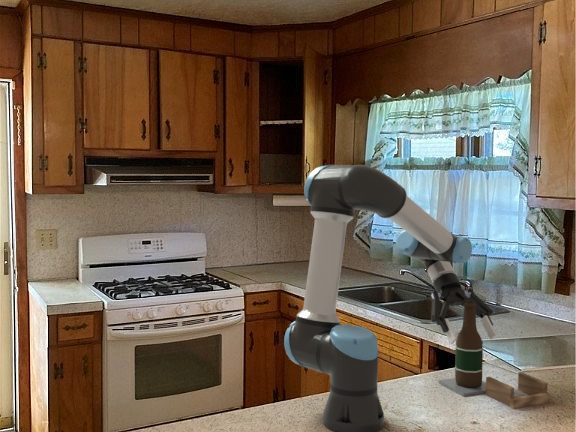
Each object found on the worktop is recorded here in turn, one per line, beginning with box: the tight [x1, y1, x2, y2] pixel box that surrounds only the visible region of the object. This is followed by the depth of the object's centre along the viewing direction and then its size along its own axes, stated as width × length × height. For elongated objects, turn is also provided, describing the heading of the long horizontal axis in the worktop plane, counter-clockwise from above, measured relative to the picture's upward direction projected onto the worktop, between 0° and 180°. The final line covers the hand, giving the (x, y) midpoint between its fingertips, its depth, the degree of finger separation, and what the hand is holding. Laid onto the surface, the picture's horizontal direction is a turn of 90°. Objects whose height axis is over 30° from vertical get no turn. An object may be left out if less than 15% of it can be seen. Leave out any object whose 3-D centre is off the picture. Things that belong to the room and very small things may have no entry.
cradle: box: [485, 371, 551, 409], centre depth 173 cm, size 12×11×5 cm
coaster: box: [438, 377, 486, 397], centre depth 183 cm, size 12×12×1 cm
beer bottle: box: [454, 301, 484, 388], centre depth 182 cm, size 8×8×24 cm
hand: (474, 339), depth 180 cm, fingers open, 13 cm apart
